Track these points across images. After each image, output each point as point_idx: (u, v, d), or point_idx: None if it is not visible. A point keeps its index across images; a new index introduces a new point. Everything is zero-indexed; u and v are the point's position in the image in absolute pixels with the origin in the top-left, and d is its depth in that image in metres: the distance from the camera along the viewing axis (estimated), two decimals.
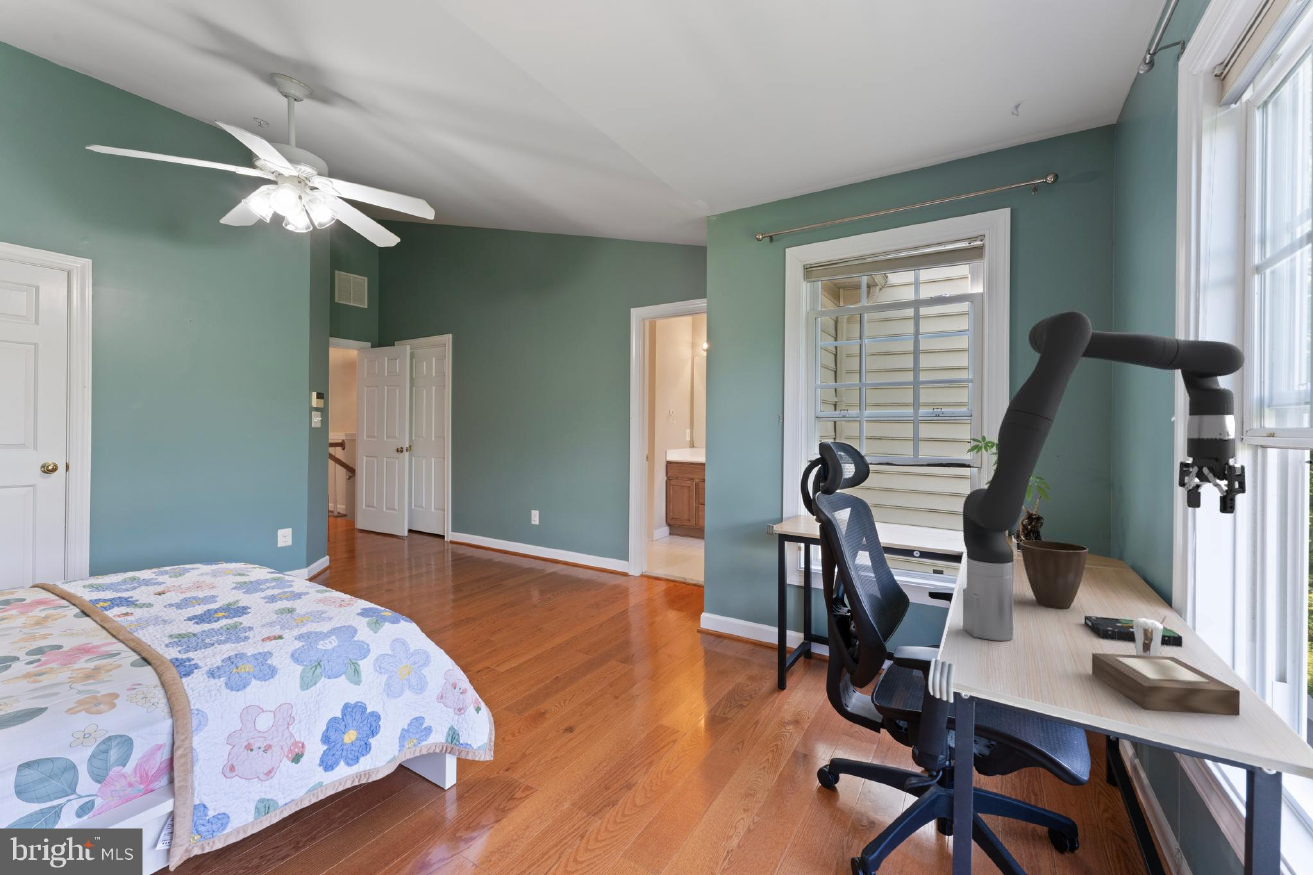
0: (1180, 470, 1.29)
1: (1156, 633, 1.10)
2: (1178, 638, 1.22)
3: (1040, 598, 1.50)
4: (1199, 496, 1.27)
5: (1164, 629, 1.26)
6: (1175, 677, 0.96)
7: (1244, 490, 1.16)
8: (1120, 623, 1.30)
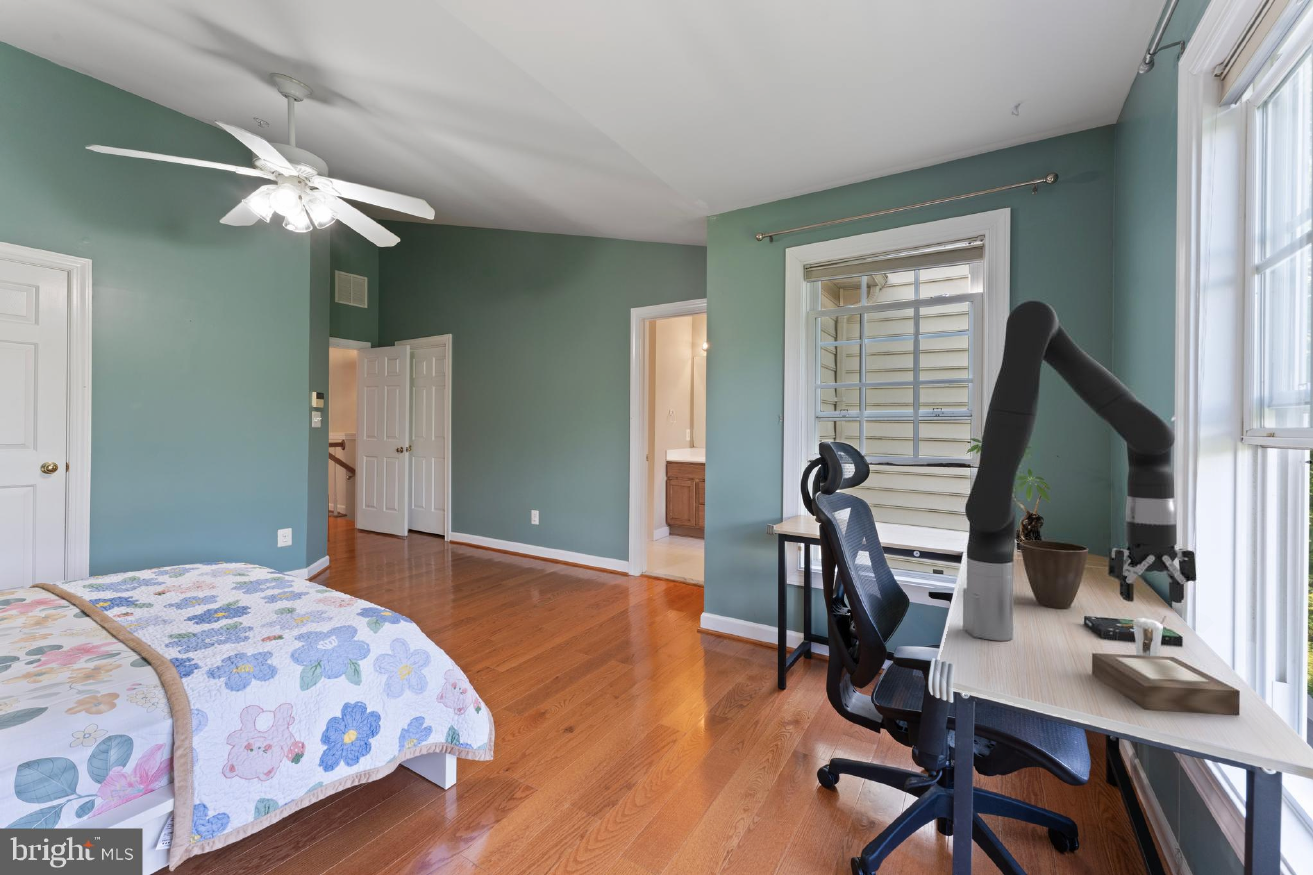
0: (1119, 560, 1.11)
1: (1156, 633, 1.10)
2: (1178, 638, 1.22)
3: (1040, 598, 1.50)
4: None
5: (1164, 629, 1.26)
6: (1175, 677, 0.96)
7: None
8: (1120, 623, 1.30)
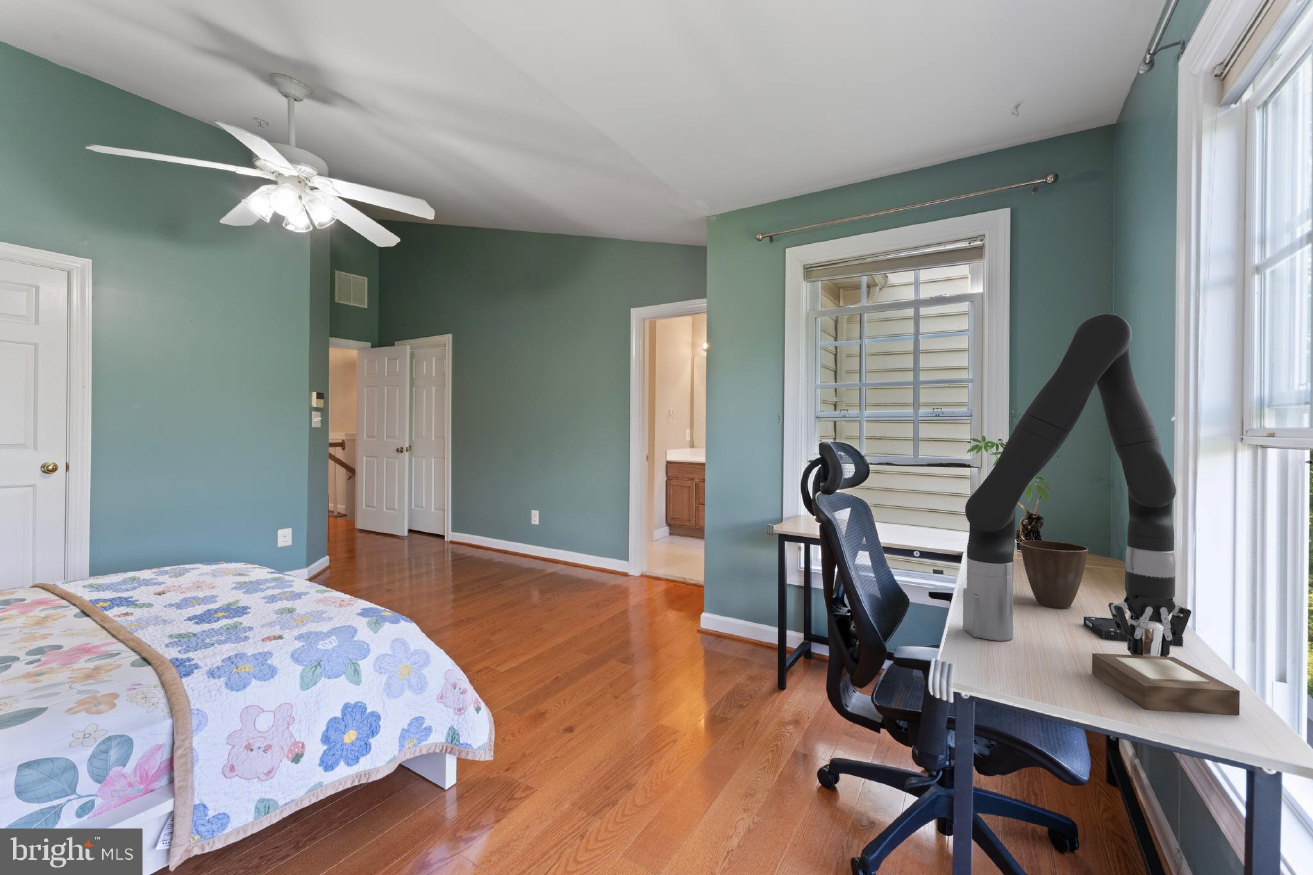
0: (1121, 617, 1.12)
1: (1157, 633, 1.10)
2: (1179, 638, 1.22)
3: (1040, 598, 1.50)
4: None
5: None
6: (1175, 677, 0.96)
7: None
8: None
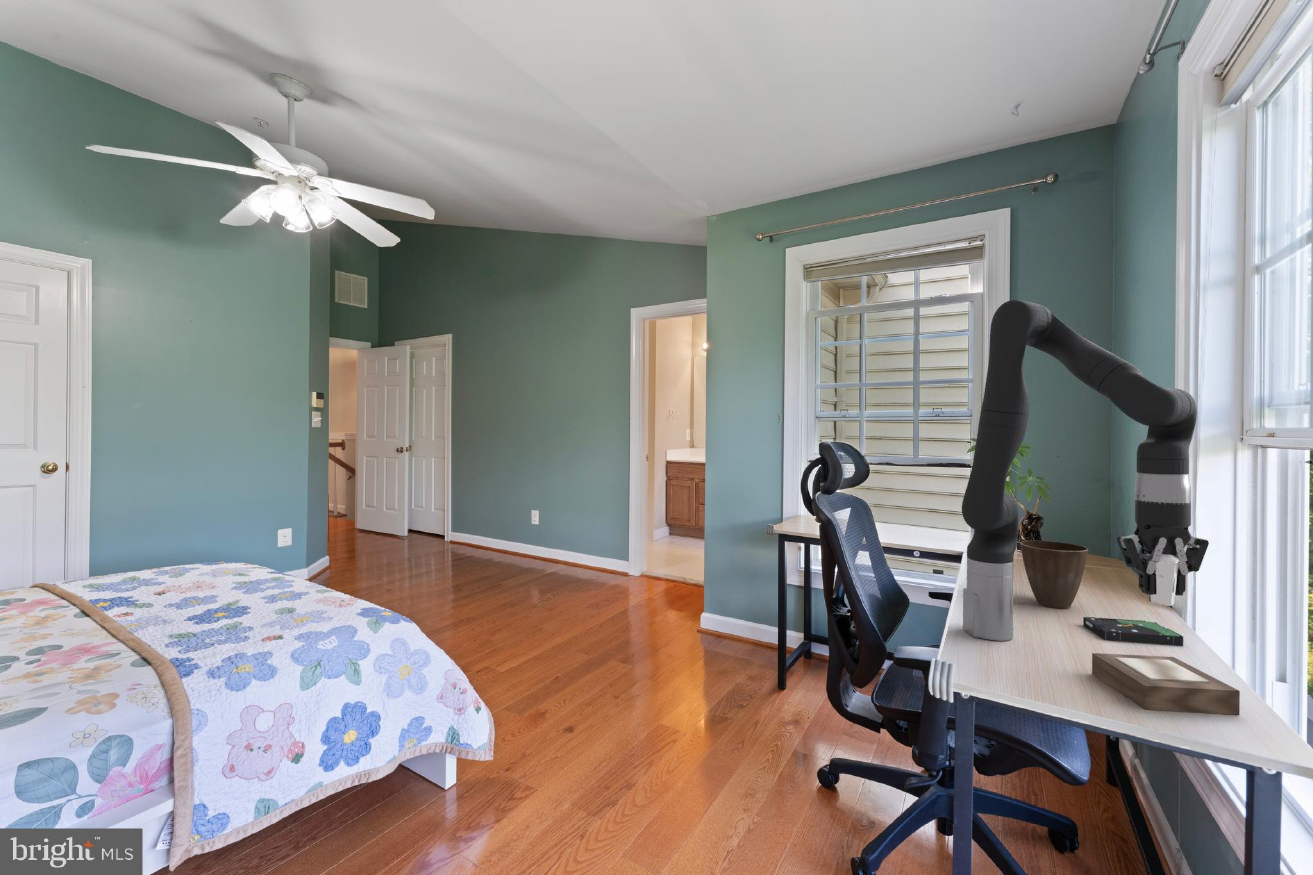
0: (1132, 550, 1.00)
1: (1172, 566, 0.99)
2: (1179, 638, 1.22)
3: (1040, 598, 1.50)
4: None
5: (1163, 629, 1.27)
6: (1175, 677, 0.96)
7: None
8: (1120, 624, 1.30)
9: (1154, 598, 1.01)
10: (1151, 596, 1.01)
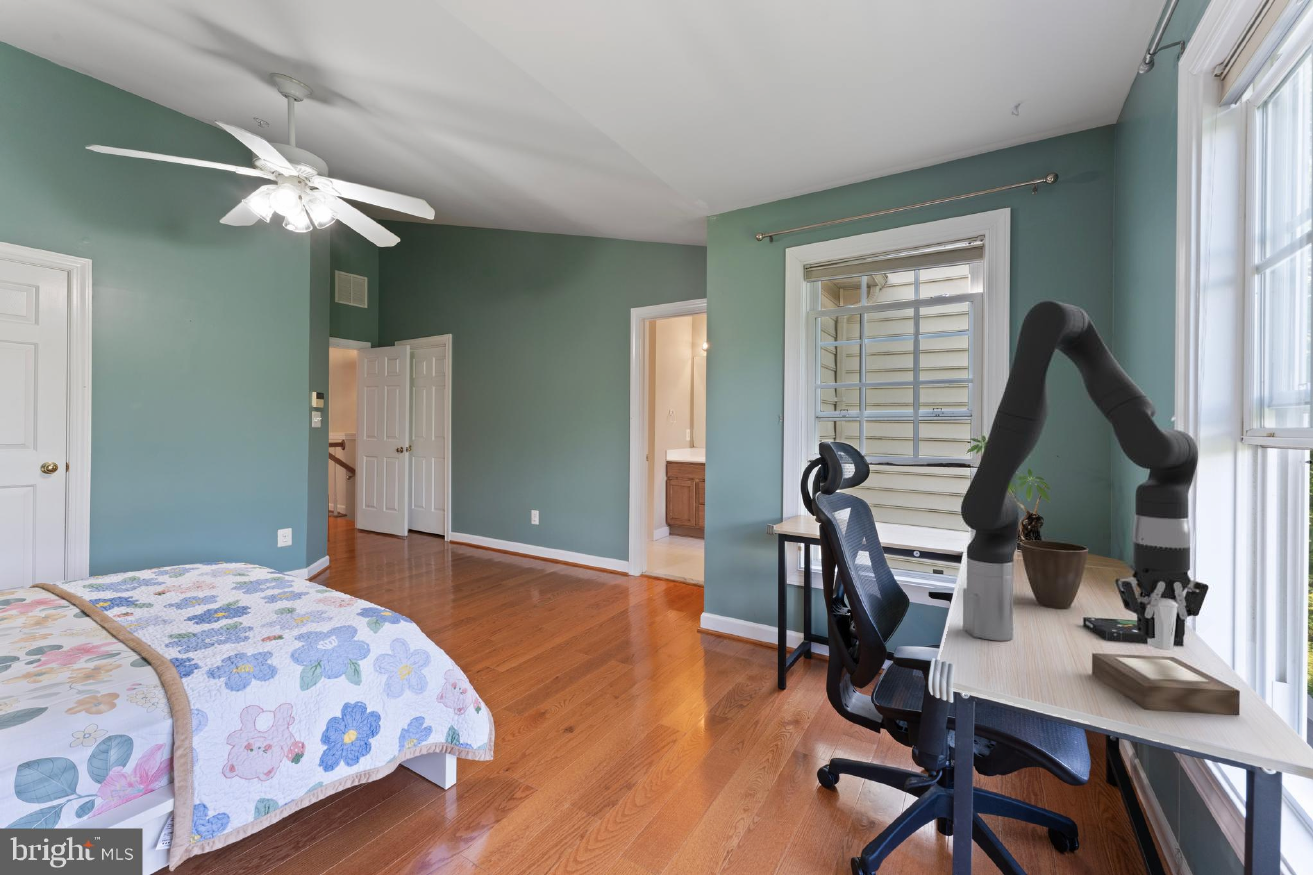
0: (1130, 593, 1.00)
1: (1171, 611, 0.98)
2: None
3: (1040, 598, 1.50)
4: None
5: None
6: (1175, 677, 0.96)
7: None
8: (1120, 624, 1.30)
9: (1152, 642, 1.00)
10: (1150, 640, 1.00)
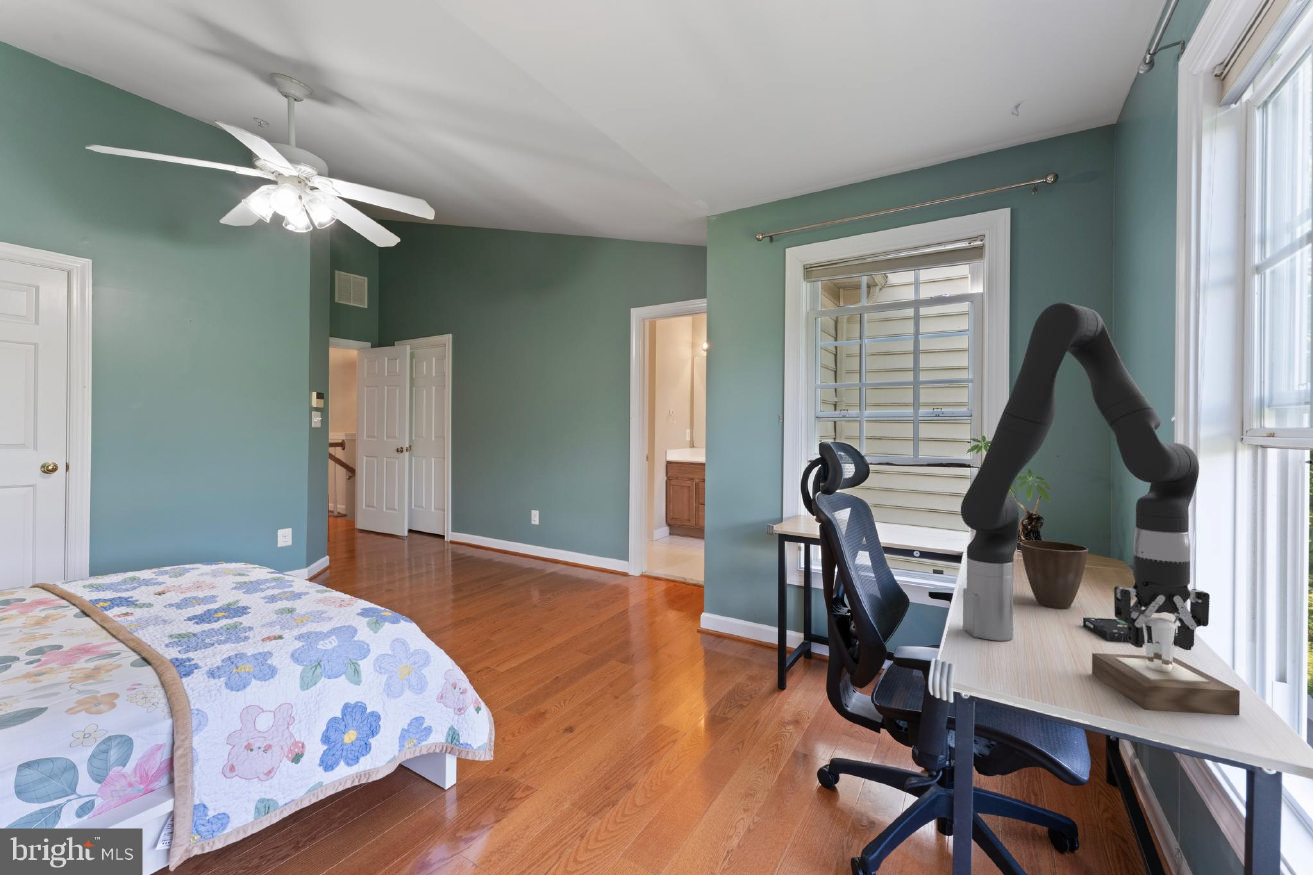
0: (1125, 602, 1.00)
1: (1169, 633, 0.98)
2: None
3: (1040, 598, 1.50)
4: None
5: None
6: (1175, 677, 0.96)
7: None
8: (1120, 624, 1.30)
9: (1151, 664, 1.00)
10: (1148, 661, 1.00)
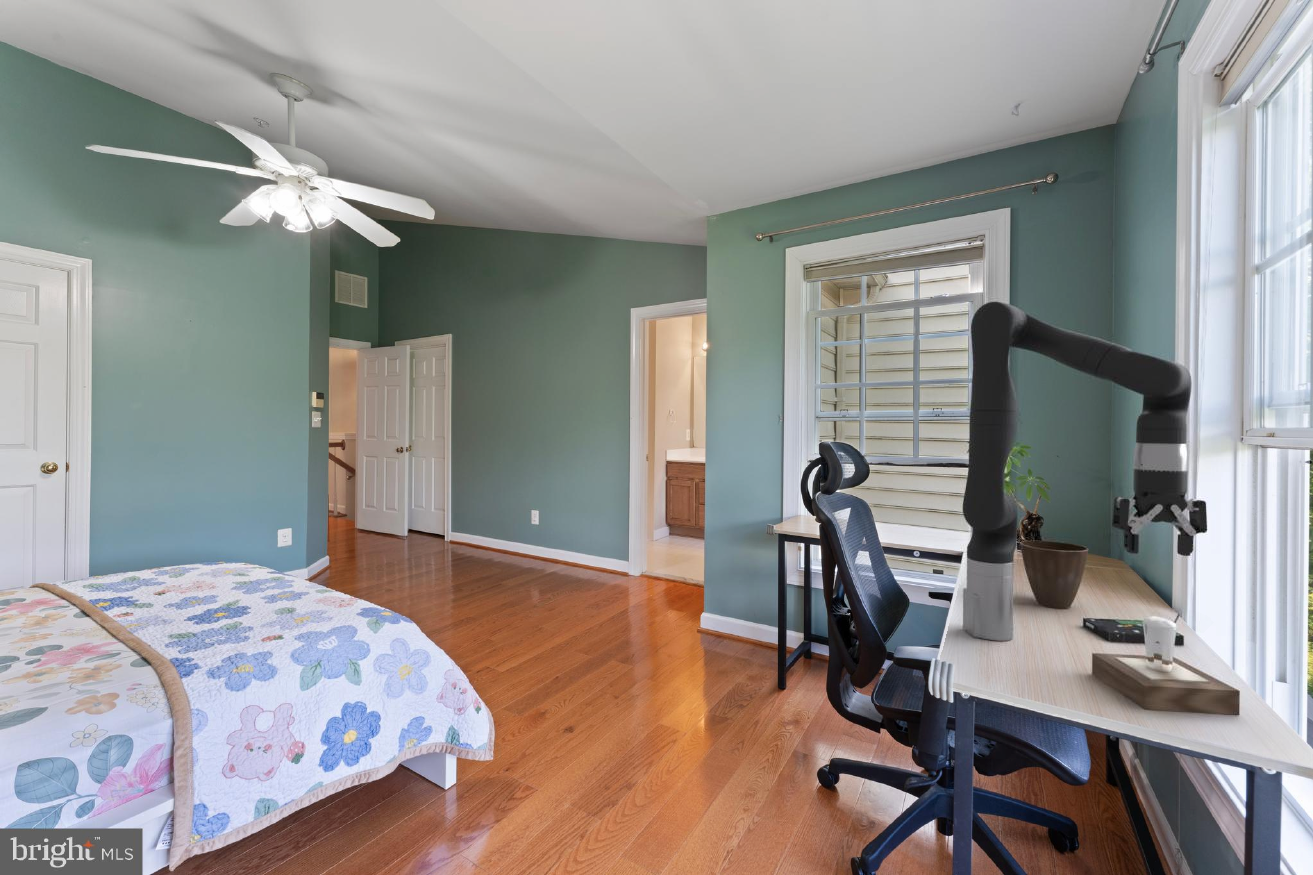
0: (1124, 510, 1.05)
1: (1169, 633, 0.98)
2: (1180, 637, 1.22)
3: (1040, 598, 1.50)
4: None
5: None
6: (1175, 677, 0.96)
7: None
8: (1120, 624, 1.29)
9: (1151, 664, 1.00)
10: (1148, 661, 1.00)
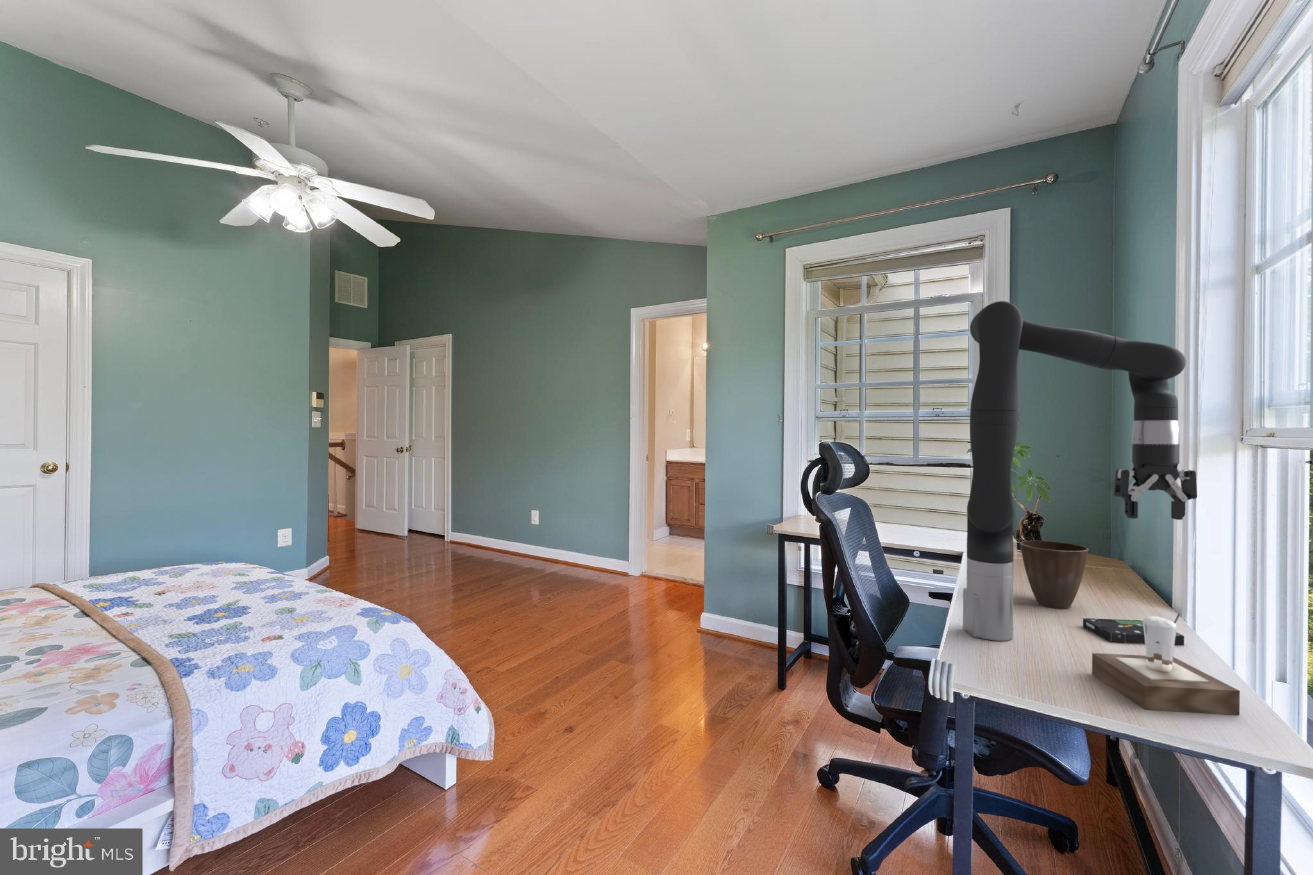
0: (1124, 480, 1.18)
1: (1169, 633, 0.98)
2: (1180, 637, 1.22)
3: (1040, 598, 1.50)
4: None
5: None
6: (1175, 677, 0.96)
7: None
8: (1120, 624, 1.29)
9: (1151, 664, 1.00)
10: (1148, 661, 1.00)
